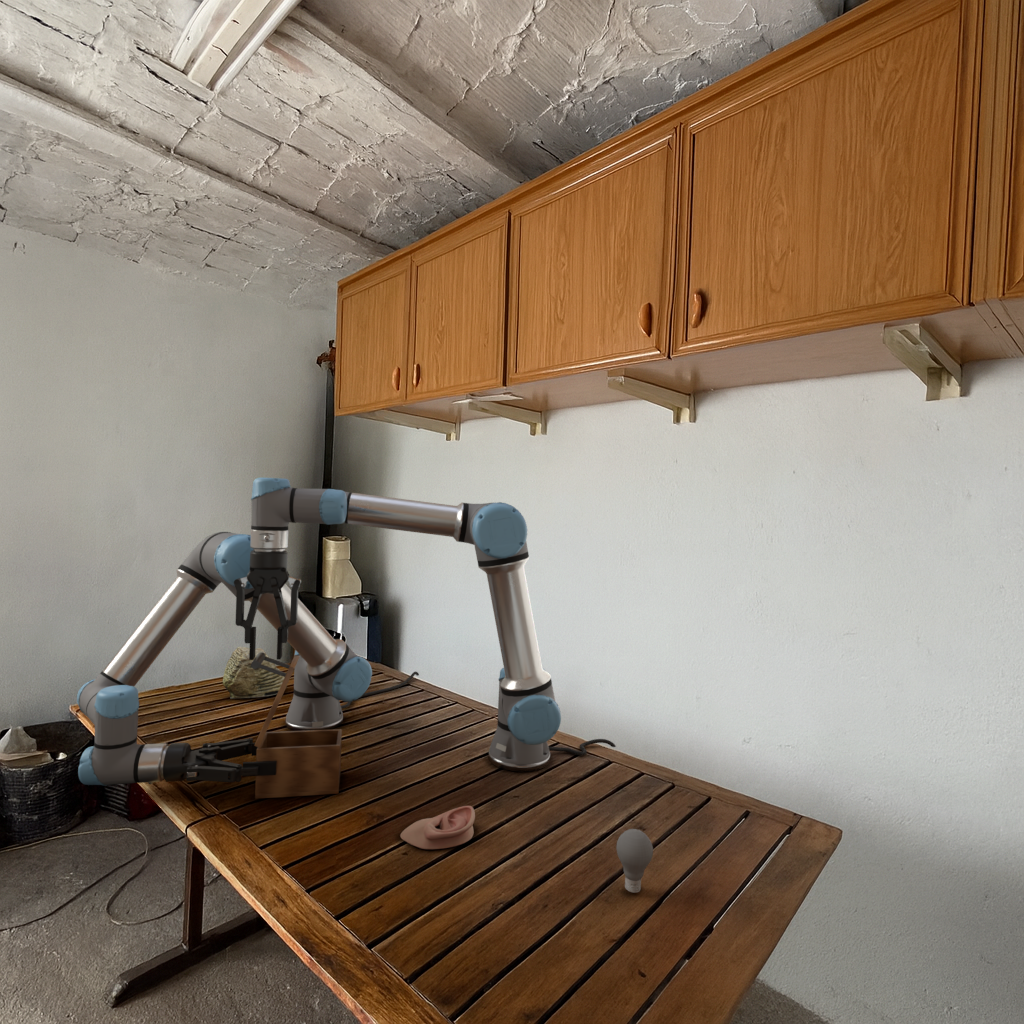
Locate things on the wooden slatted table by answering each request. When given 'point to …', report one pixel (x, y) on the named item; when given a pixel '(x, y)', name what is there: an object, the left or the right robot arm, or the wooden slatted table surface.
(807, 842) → the wooden slatted table surface
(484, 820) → the wooden slatted table surface
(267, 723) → the lid
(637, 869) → the light bulb
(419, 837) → the anatomical model
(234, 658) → the fossil
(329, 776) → the chest
